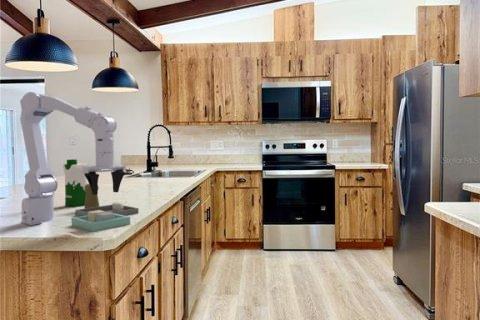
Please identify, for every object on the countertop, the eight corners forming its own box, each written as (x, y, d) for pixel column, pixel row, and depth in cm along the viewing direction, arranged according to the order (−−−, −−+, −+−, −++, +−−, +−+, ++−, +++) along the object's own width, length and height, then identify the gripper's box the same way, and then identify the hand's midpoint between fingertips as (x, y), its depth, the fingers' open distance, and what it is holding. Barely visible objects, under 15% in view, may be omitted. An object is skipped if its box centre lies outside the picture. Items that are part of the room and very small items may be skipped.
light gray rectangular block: (102, 227, 120) (102, 215, 120) (95, 226, 123) (95, 213, 123) (114, 225, 123) (113, 213, 123) (107, 223, 126) (106, 211, 126)
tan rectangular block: (94, 225, 124) (94, 213, 124) (88, 223, 126) (87, 211, 126) (105, 223, 127) (105, 211, 127) (99, 221, 129) (99, 210, 129)
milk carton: (61, 206, 165) (60, 159, 164) (80, 203, 172) (79, 158, 171) (74, 207, 160) (73, 160, 159) (92, 204, 168) (91, 159, 166)
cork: (95, 209, 156) (94, 182, 156) (103, 211, 152) (102, 183, 152) (81, 211, 152) (80, 183, 151) (88, 213, 148) (88, 185, 147)
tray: (96, 222, 132) (96, 214, 131) (75, 216, 141) (75, 209, 141) (138, 214, 144) (138, 208, 144) (116, 210, 154) (116, 204, 154)
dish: (92, 233, 116) (92, 223, 115) (71, 227, 124) (71, 217, 124) (130, 225, 126) (130, 216, 125) (108, 220, 134) (108, 212, 134)
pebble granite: (116, 213, 143) (116, 204, 143) (110, 212, 146) (110, 203, 146) (125, 212, 146) (125, 203, 146) (119, 211, 149) (119, 202, 149)
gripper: (90, 153, 119) (91, 196, 120) (130, 152, 130) (131, 192, 131) (79, 153, 124) (80, 194, 124) (119, 152, 135) (119, 190, 135)
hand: (105, 193), depth 128 cm, fingers open, 7 cm apart
